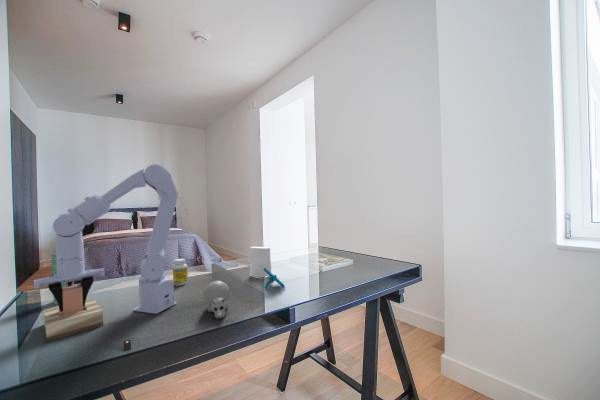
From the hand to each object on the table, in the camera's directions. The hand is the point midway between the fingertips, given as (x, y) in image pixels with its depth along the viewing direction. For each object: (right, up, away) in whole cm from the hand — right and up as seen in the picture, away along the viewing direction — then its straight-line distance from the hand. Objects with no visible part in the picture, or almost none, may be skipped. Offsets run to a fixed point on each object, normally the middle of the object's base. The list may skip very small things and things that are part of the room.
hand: (72, 307), depth 73 cm
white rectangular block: (+45, -3, +42) cm, 61 cm away
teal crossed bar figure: (+53, -3, +25) cm, 58 cm away
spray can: (-19, -6, +20) cm, 28 cm away
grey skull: (+38, -3, +4) cm, 39 cm away
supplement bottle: (+14, -4, +34) cm, 37 cm away
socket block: (0, -5, 0) cm, 5 cm away
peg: (0, -2, 0) cm, 2 cm away
